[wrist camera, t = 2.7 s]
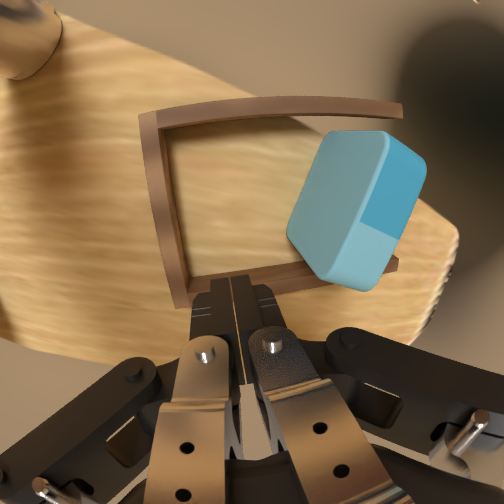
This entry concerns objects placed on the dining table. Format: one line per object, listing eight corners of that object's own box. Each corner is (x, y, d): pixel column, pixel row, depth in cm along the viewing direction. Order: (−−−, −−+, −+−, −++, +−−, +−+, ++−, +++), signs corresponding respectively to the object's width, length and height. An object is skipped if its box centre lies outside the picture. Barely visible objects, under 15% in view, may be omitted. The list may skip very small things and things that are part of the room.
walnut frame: (147, 117, 23) (138, 114, 20) (383, 105, 26) (401, 103, 22) (178, 291, 31) (175, 308, 28) (382, 259, 33) (397, 270, 30)
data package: (317, 245, 31) (369, 300, 20) (282, 233, 30) (323, 287, 19) (359, 148, 27) (433, 160, 16) (325, 130, 26) (392, 129, 15)
